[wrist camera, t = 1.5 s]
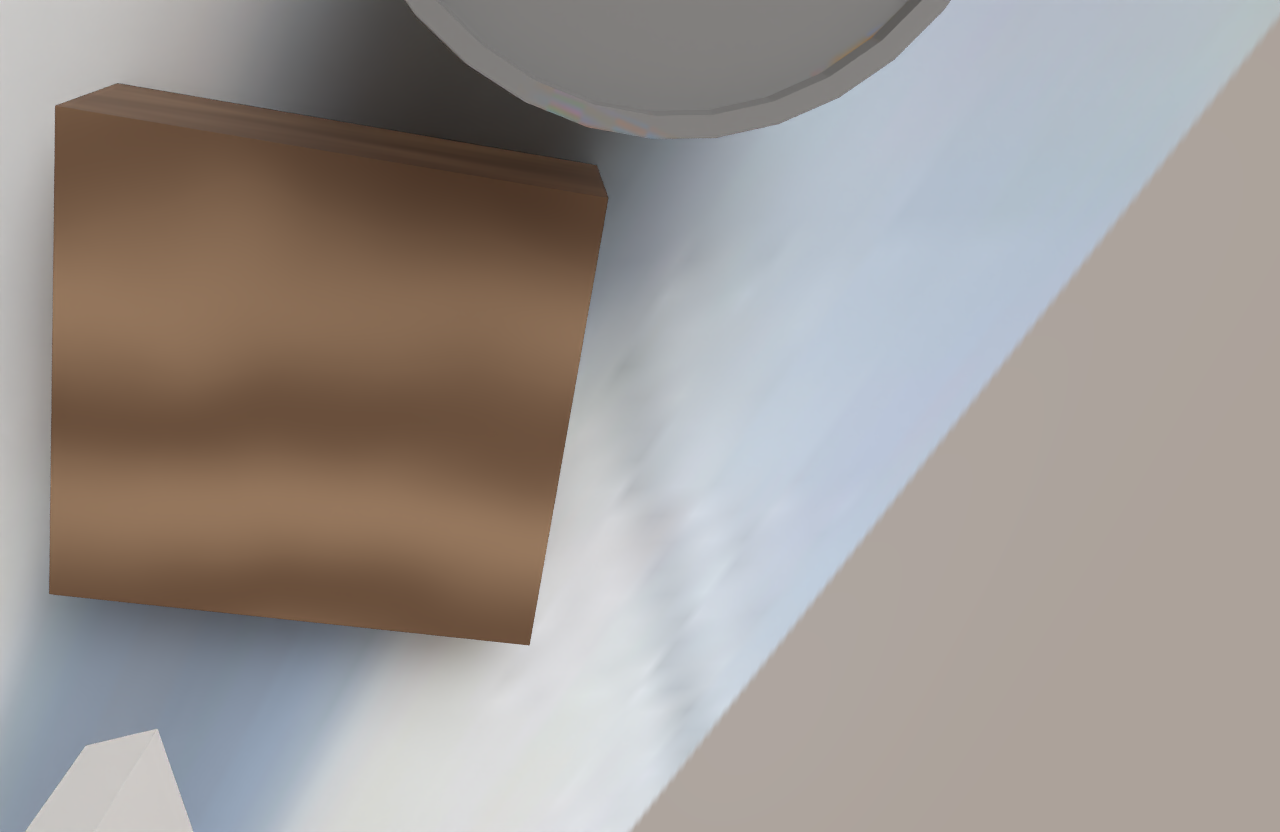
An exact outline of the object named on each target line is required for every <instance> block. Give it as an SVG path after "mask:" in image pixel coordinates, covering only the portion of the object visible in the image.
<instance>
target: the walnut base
mask: <svg viewBox="0 0 1280 832" xmlns="http://www.w3.org/2000/svg"><path fill="white" fill-rule="evenodd" d="M607 203H608V196H607V193H606V190H605V187H604V184H603V181H602V179H601V176H600V173H599V170H598V167H597V165H593V164H587V163H581V162H575V161H569V160H563V159H557V158H552V157H546V156H540V155H534V154H528V153H522V152H516V151H511V150H505V149H499V148H493V147H487V146H481V145H475V144H470V143H464V142H458V141H452V140H446V139H440V138H434V137H429V136H423V135H417V134H411V133H405V132H399V131H394V130H388V129H382V128H376V127H370V126H364V125H358V124H353V123H347V122H341V121H335V120H329V119H323V118H317V117H312V116H306V115H300V114H294V113H288V112H282V111H276V110H271V109H265V108H259V107H253V106H247V105H241V104H236V103H230V102H224V101H218V100H212V99H206V98H200V97H195V96H189V95H183V94H177V93H171V92H165V91H159V90H154V89H148V88H142V87H136V86H130V85H124V84H118V83H117V84H114V85H111V86H109V87H106V88H103V89H100V90H97V91H95V92H92V93H89V94H86V95H84V96H81V97H78V98H75V99H73V100H70V101H67V102H64V103H62V104H59V105H56V106H55V169H54V251H53V332H52V414H51V496H50V577H49V594H53V595H62V596H72V597H81V598H90V599H100V600H109V601H119V602H128V603H137V604H147V605H156V606H165V607H175V608H184V609H194V610H203V611H212V612H222V613H231V614H240V615H250V616H259V617H269V618H278V619H287V620H297V621H306V622H315V623H325V624H334V625H344V626H353V627H362V628H372V629H381V630H390V631H400V632H409V633H419V634H428V635H437V636H447V637H456V638H465V639H475V640H484V641H494V642H503V643H512V644H522V645H530V639H531V634H532V628H533V622H534V617H535V611H536V605H537V600H538V594H539V588H540V583H541V577H542V571H543V566H544V560H545V554H546V549H547V543H548V537H549V532H550V526H551V520H552V515H553V509H554V503H555V498H556V492H557V486H558V481H559V475H560V469H561V464H562V458H563V452H564V447H565V441H566V435H567V430H568V424H569V418H570V413H571V407H572V401H573V396H574V390H575V384H576V379H577V373H578V367H579V362H580V356H581V350H582V345H583V339H584V333H585V328H586V322H587V316H588V311H589V305H590V299H591V294H592V288H593V282H594V277H595V271H596V265H597V260H598V254H599V248H600V243H601V237H602V231H603V226H604V220H605V214H606V209H607Z"/></svg>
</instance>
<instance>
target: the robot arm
mask: <svg viewBox="0 0 1280 832" xmlns="http://www.w3.org/2000/svg"><path fill="white" fill-rule="evenodd" d="M25 832H193V830H192V827H191V824H190V821H189V818H188V815H187V812H186V809H185V807H184V804H183V801H182V798H181V795H180V792H179V789H178V786H177V784H176V781H175V778H174V775H173V772H172V769H171V766H170V763H169V761H168V758H167V755H166V752H165V749H164V746H163V743H162V740H161V738H160V735H159V732H158V729H154V730H150V731H146V732H141V733H137V734H133V735H129V736H125V737H120V738H116V739H112V740H108V741H103V742H99V743H95V744H91V745H86V746H85V747H84V749H83V750H82V752H81V753H80V755H79V756H78V757H77V759H76V760H75V762H74V763H73V764H72V766H71V767H70V769H69V770H68V772H67V773H66V774H65V776H64V777H63V779H62V780H61V781H60V783H59V784H58V786H57V787H56V789H55V790H54V791H53V793H52V794H51V796H50V797H49V798H48V800H47V801H46V803H45V804H44V806H43V807H42V808H41V810H40V811H39V813H38V814H37V815H36V817H35V818H34V820H33V821H32V823H31V824H30V825H29V827H28V828H27V830H26V831H25Z"/></svg>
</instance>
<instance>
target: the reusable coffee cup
mask: <svg viewBox="0 0 1280 832" xmlns="http://www.w3.org/2000/svg"><path fill="white" fill-rule="evenodd" d="M404 1H405V2H406V4H407V5H408V6H409V8H410V9H411V11H412V12H413V13H414V15H415V16H416V17H417V18H418V19H419V20H420V21H421V22H422V23H423V24H424V25H425V26H426V27H427V28H428V29H429V30H430V31H431V32H432V33H433V34H434V35H435V36H436V37H438V38H439V39H440V40H441V41H442V42H443V43H444V44H445V45H446V46H447V47H448V48H449V49H450V50H451V51H452V52H453V53H454V54H455V55H456V56H457V57H458V58H459V59H460V60H461V61H462V62H464V63H465V64H466V65H468V66H469V67H471V68H472V69H474V70H475V71H477V72H479V73H480V74H482V75H483V76H485V77H486V78H488V79H489V80H491V81H492V82H494V83H495V84H497V85H499V86H500V87H502V88H503V89H505V90H506V91H508V92H509V93H511V94H512V95H514V96H515V97H517V98H519V99H520V100H522V101H524V102H526V103H528V104H531V105H533V106H536V107H538V108H541V109H543V110H546V111H548V112H551V113H553V114H556V115H558V116H561V117H563V118H566V119H568V120H571V121H573V122H576V123H578V124H581V125H583V126H586V127H589V128H595V129H600V130H605V131H611V132H616V133H622V134H627V135H633V136H638V137H643V138H649V139H679V138H717V137H722V136H726V135H731V134H735V133H740V132H744V131H749V130H753V129H758V128H762V127H767V126H771V125H776V124H780V123H782V122H784V121H787V120H789V119H791V118H793V117H796V116H798V115H800V114H803V113H805V112H807V111H809V110H812V109H814V108H816V107H819V106H821V105H823V104H825V103H828V102H830V101H832V100H834V99H837V98H839V97H841V96H842V95H843V94H845V93H846V92H848V91H849V90H851V89H852V88H854V87H855V86H857V85H858V84H859V83H861V82H862V81H864V80H865V79H867V78H868V77H870V76H871V75H873V74H874V73H875V72H877V71H878V70H880V69H881V68H883V67H884V66H886V65H887V64H888V63H890V62H891V61H893V60H894V59H895V58H896V57H897V56H898V55H899V54H900V53H901V52H902V51H903V50H904V49H905V48H906V47H907V46H908V45H909V44H910V43H911V42H912V41H913V40H914V39H915V38H916V37H917V36H918V35H919V34H920V33H921V32H922V31H923V30H924V29H925V28H926V27H927V26H928V25H929V24H930V23H931V22H932V21H933V20H934V19H935V18H936V17H937V16H938V15H939V14H940V13H941V12H942V11H943V10H944V9H945V8H946V6H947V5H948V3H949V2H950V1H951V0H404Z"/></svg>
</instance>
